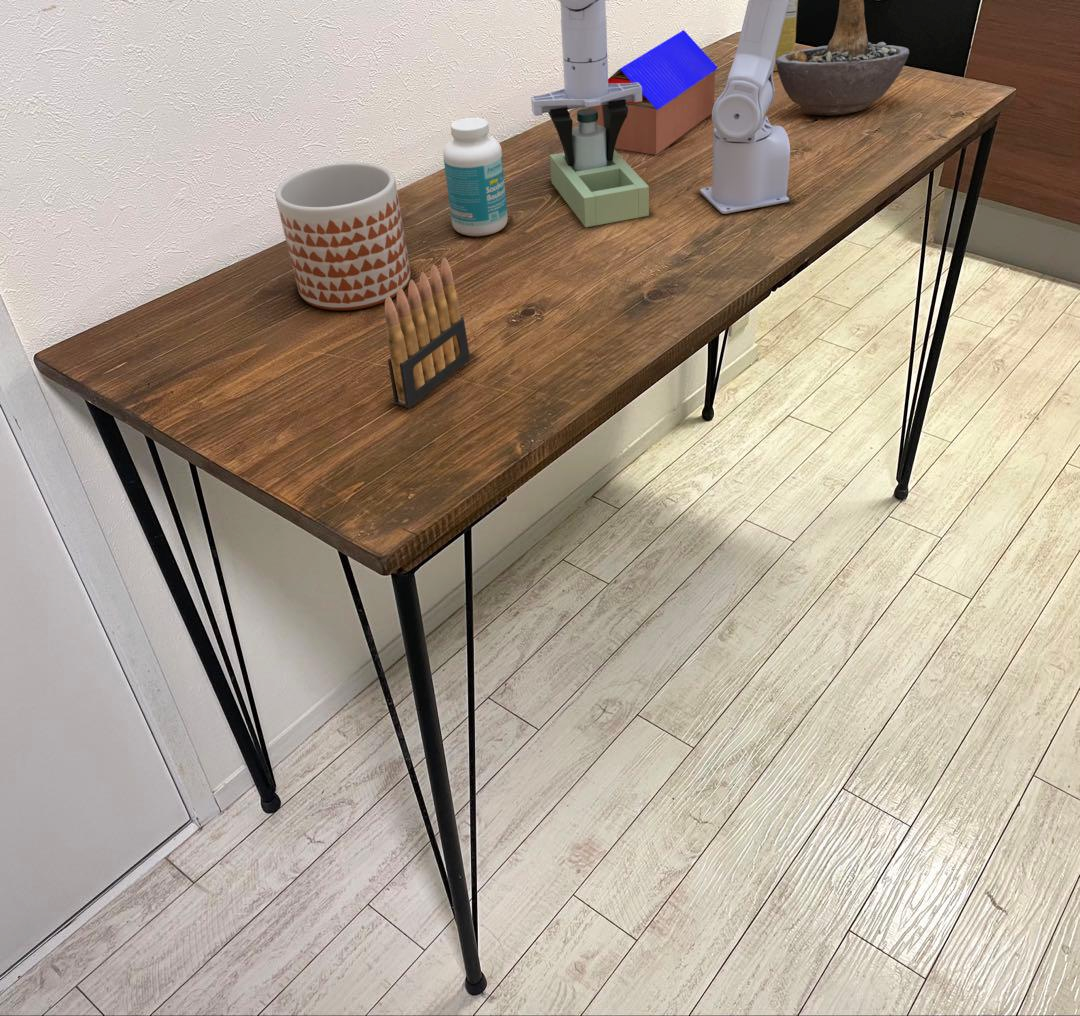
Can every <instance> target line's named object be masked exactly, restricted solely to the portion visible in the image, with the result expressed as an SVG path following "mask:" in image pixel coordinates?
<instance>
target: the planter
mask: <svg viewBox="0 0 1080 1016" xmlns="http://www.w3.org/2000/svg"><path fill="white" fill-rule="evenodd" d="M864 1H865V0H839V5H838V12H837V20H836V23H835V27H834V28H835V29H834V32H833V35H832V36H831V39H830V40H829V41H828V44H827V45H821V46H817V47H810V48H805V49H799V50H795V52H791V53H790V54H785V55H782V56H780V57H778V58H777V60H776V65H777V69H778V71H777V73H778V77H779V79H780V83H781V85H782V87H783V89H784V91H785V93H786V94H787V96H788V98H789V99H790V101H792V102H793V103H795V104H798V105H799V106H800V107H801V110H802V112H803V113H804V114H805V115H815V116H841V115H848V114H852V113H857V112H860V111H861V112H862V111H864V110H865V109H867V108H868V107H869V106H870V105H871V104H872V103H873V102H875V101H877V100H878V99H880V98H882V97H883V96H884V95H885V94H886V93H887V92H888V91H889V89H890V88H891V87H892V85H893V84H894V83H895V82H896V80H897V78H898V77H899V75H900V73H901V72H902V70H903V68H904V67H905V64H906V62H907V60H908V58H909V55H910V50H909V48H908V47H904V46H899V45H892V44H891V45H890V44H889V45H887V43H885V42H884V41H880V42H878V43H876V44H875V43H872V42H871V41H869V39H868V33H867V25H866V17H865V2H864Z"/></svg>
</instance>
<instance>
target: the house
mask: <svg viewBox="0 0 1080 1016" xmlns="http://www.w3.org/2000/svg"><path fill="white" fill-rule="evenodd" d="M718 68H719V67H718V66H717V65H716V63H714V62H713V60H712V59H711V58H710V57H709V56H708V55H707V54H706V53H705V51H703V49H702V48H701V47H700V46H699V45H698V44H697V43H696V41H694V39H693V38H692V37H691V36H690V35H689V34H688V33H687V32H686V30H685V29H683V30H681V31H680V32H678V33H676V34H675V35H673V36H671V37H669V38H668V39H666V40H665V41H663V42H661V43H660V44H658V45H656V46H654V47H653V48H651V49H650V50H648V51H646V52H644V53H643V54H642V55H640V56H638V57H636V58H635V59H633V60H632V61H630V62H628V63H627V64H625V65H624V66H622V67H620V68H619V69H618V70H617V71H615V72H614V73H612V75H611V76H610V77H608V84H620V83H636V82H638V83H639V84H640V85H641V86H642V101H641V102H634V101H628V102H626V106H627V107H628V114H627V117H626V119H625V121H624V123H623V125H622V127H621V129H620V132H619V135H618V138H617V141H616V145H615V149H617V150H623V151H629V152H636V153H642V154H648V155H653V156H657V155H658V154H660V153H662V151H664V150H665V149H666V148H668V147H669V146H670V145H672V144H673V143H674V142H676V141H677V140H679V139H680V138H681V137H682V136H683V135H685V134H686V133H688V132H689V131H690V130H692V129H694V128H695V127H696V126H697V125H698V124H700V123H701V122H703V121H704V120H705V119H707V118H708V117H709V116H711V115H712V110H713V106H714V104H715V88H716V87H715V84H716V83H715V82H716V72H717V70H718ZM587 108H593V109H596V110H598V120H597V125H600V126H603V127H604V121H603V110H602V105H599V106H592V107H587Z"/></svg>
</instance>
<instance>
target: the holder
mask: <svg viewBox="0 0 1080 1016" xmlns="http://www.w3.org/2000/svg"><path fill="white" fill-rule="evenodd" d="M549 164H550V165H549V166H550V182H551V185H552V186H553V187H554V188H555V189H556V191H557V192H558V193H559V195H560V196H561V197H562V199H563V200H564V202H565V203H566V204H567V205H568V207H569V208H570V209H571V210H572V212H573V213H574V215H575V216H576V217H577V219H578V220H579V221H580V222H581V224H582V225H583V226H584V228H590V227H595V226H600V225H607V224H612V223H618V222H622V221H628V220H633V219H638V218H643V217H644V218H645V217H649V216H650V186H649V185H648V184H647V183H646V181H644V179H643V178H642V177H641V176H640V175H639V174H638V173H637V172H636V170H634V168H632V167H631V166H630V164H628V162H626V160H625V159H624V158H623V157H622V156H621V155H620V154H619V153H618V152H617V150H615V149H614V154H613V160H610V161H608V160H607V166H605V167H600V168H594V169H588V170H583V171H577V172H575V171H574V170H573V169H572V166H568V164H567V163H566V159H565V154H564V152H559V153H554V154H553V153H552V154H550V155H549Z"/></svg>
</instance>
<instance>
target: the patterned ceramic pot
mask: <svg viewBox="0 0 1080 1016" xmlns="http://www.w3.org/2000/svg"><path fill="white" fill-rule="evenodd" d="M398 194H399V193H398V188H397V182H396V177H395V175H394V174H393V172H392V171H391V170H389V169H388V168H386V167H384V166H382V165H379V164H376V163H371V162H364V161H363V162H361V161H339V162H331V163H324V164H320V165H315V166H313V167H310V168H305V169H303V170H300V171H297V172H295V173H293V174H292V175H289V176H288V177H287V178H285V179H283V180H282V181H281V182H280V183H279V184H278V186H277V187H276V189H275V193H274V197H275V201H276V205H277V209H278V214H279V218H280V222H281V227H282V230H283V234H284V239H285V242H286V247H287V250H288V255H289V258H290V263H291V266H292V270H293V274H294V279H295V282H296V287H297V290H298V294H299V296H300V297H301V299H302V300H303V301H304V302H305V303H307V304H309V305H310V306H313V307H315V308H317V309H321V310H327V311H338V312H339V311H343V312H344V311H355V310H361V309H366V308H370V307H374V306H377V305H381V304H382V303H385V300H386V297H387V296H389V297H390V298H391V299H393V298H395V297H397V292H398V288H399V287H400V288H401V289H402V290H403V291H404V290H405V289H406V287H408V286H409V282H410V280H411V275H412V274H411V268H410V262H409V255H408V248H407V243H406V236H405V229H404V225H403V219H402V212H401V205H400V200H399V195H398Z"/></svg>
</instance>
